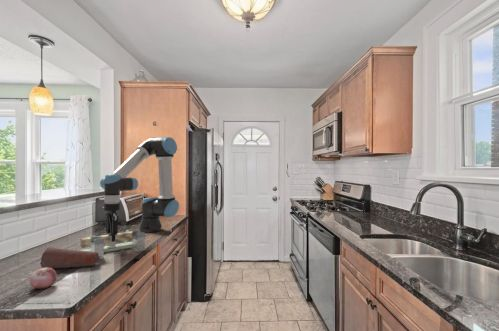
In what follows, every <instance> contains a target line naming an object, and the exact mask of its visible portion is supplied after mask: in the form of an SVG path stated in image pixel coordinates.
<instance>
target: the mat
mask: <svg viewBox="0 0 499 331" xmlns="http://www.w3.org/2000/svg"><path fill="white" fill-rule="evenodd" d="M125 249H132V241H125V242H122V243H121V242H119V243H116V247H113V248H110V246H107V245H104V253H108V252H114V251H118V250H119V251H120V250H125ZM79 250H80V251H90V248H86V249H85V248H83V249H79ZM79 250H77V251H79Z"/></svg>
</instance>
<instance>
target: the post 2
mask: <svg viewBox="0 0 499 331" xmlns="http://www.w3.org/2000/svg"><path fill="white" fill-rule="evenodd" d="M145 239H146V232H140V230H139V229H138V230H132V240H131V242H132V247H131V250H133V251H135V252H137V253H139V252H143V251H146V250H145V249H146V244H145V243H146V242H145V241H146V240H145Z"/></svg>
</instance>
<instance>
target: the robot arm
mask: <svg viewBox="0 0 499 331" xmlns="http://www.w3.org/2000/svg"><path fill="white" fill-rule="evenodd" d="M135 150H136V151H134V152H133V153H132V154H131V155H130V156H129V157H128V158H127V159H126V160H124V162H123V163H121V165H119V167H117V168H116V169H115V170H114V171H113V172H112V173H111V174H109V173H107V174H105V176H104V177H102V178H101V179H100V181H99V185H100V187H101V188H102V189H103V190H104V194H103V195H104V196H103V202H104V204H103V210H104V211H105V212H107V213H105V232H106V235H108V234H111V235H109V236H110V244H106V246H110V248H113V247H116V244H117V242H116V234H117V233H119V232H118V229H119V228H118V227H119V224H118V223H119V216H118V215H117V211H120V205H121V204H120V200H121V192H127V191H130V192H131V191H135V190H137V189H138V187H139V181H138V179H137V178H135V177H129V175H130V174H131V173H132V172H133V171H134V170H135V169H136V168H138V166H139V165H140V164H141V163H142V162H143V161H144V160H145V159H148V158H149V157H150V156H153V155H155V158H156V159H157V161H158V186H159V187H158V188H159V189H158V190H159V195H158V196H153V197H152V196H151V197H145V198H143V199H142V201H141V221H140V224H139V227H138V230H140V233H141V232H145V233H157V232H160V231H162V230H163V226H162V222H161V220H160V217H163V218H164V217H165V218H172V217H173V218H174V217H175V216H176V215H177V213H178V212H179V210H180V203H179V201H178V200H177V199H176V196H175V195H174V193H173V169H172V168H173V167H172V160H173V158H174V155H175V154H176V153H177V150H178V144H177V142H176V140H175V139H174V138H173V137H170V136H159V137H158V136H157V137H155V136H154V137H150V138H148V139H146V140H144V141H143V142H142V143H140V144H139V145H138V146H137V147H136V148H135Z"/></svg>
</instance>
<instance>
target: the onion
mask: <svg viewBox="0 0 499 331" xmlns="http://www.w3.org/2000/svg"><path fill="white" fill-rule="evenodd" d="M57 279H58V275H57V272H56V270H55V268H54V269H52V268H48V267H46V268H42V267H41V268H39V269H37V270H35V271H34V272H33V273H32V274H31V276H30V279H29V284H30V286H31V287H32V288H33V289H37V290H40V291H42V290H44V289H48V288H50V287H51V286H52V285H54V284H55V282H56V281H57ZM49 286H50V287H49ZM41 289H42V290H41Z"/></svg>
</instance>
